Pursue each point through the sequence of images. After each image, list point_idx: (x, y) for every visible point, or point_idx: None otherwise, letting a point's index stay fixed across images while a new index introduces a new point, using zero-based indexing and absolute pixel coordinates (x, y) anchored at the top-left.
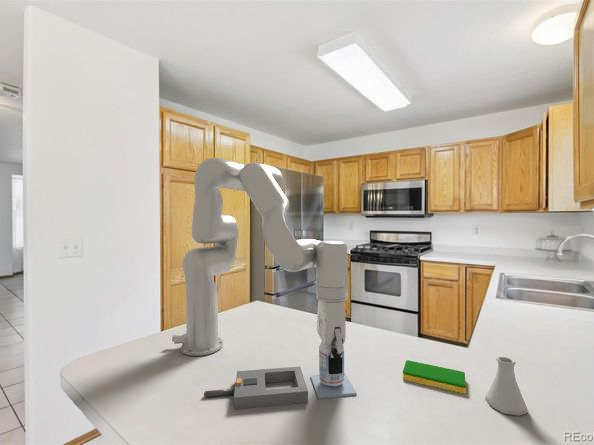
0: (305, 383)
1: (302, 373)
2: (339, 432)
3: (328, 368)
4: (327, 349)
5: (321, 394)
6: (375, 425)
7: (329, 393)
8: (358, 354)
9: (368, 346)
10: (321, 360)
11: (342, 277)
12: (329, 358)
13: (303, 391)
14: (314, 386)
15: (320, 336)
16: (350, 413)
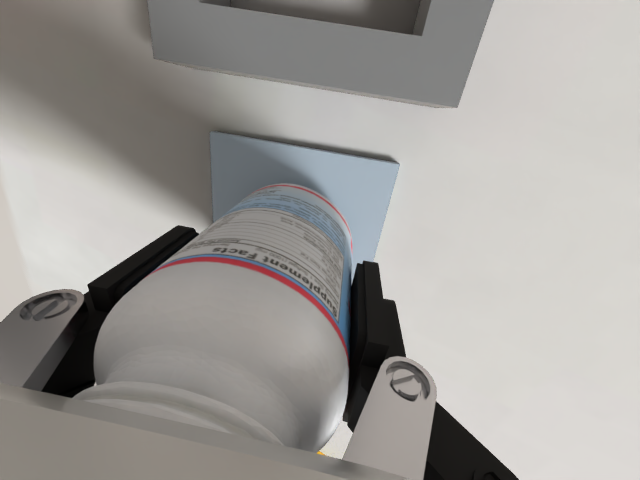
0: (233, 70)
1: (356, 91)
2: (19, 131)
3: (173, 237)
4: (103, 332)
5: (222, 153)
6: (71, 254)
7: (225, 191)
8: (477, 415)
9: (511, 464)
10: (220, 229)
11: None
12: (98, 281)
13: (150, 24)
14: (294, 146)
15: (71, 455)
16: (121, 214)
